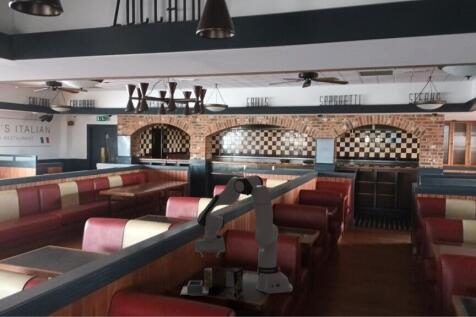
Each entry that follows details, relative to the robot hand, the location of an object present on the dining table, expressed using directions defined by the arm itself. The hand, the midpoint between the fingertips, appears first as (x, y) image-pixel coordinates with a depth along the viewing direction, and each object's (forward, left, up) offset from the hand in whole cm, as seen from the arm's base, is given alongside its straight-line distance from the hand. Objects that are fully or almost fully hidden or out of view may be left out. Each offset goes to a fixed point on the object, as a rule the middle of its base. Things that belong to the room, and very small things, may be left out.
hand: (209, 257), depth 257 cm
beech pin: (0, +10, -16) cm, 19 cm away
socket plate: (+7, +20, -16) cm, 26 cm away
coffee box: (-17, +28, -16) cm, 36 cm away
